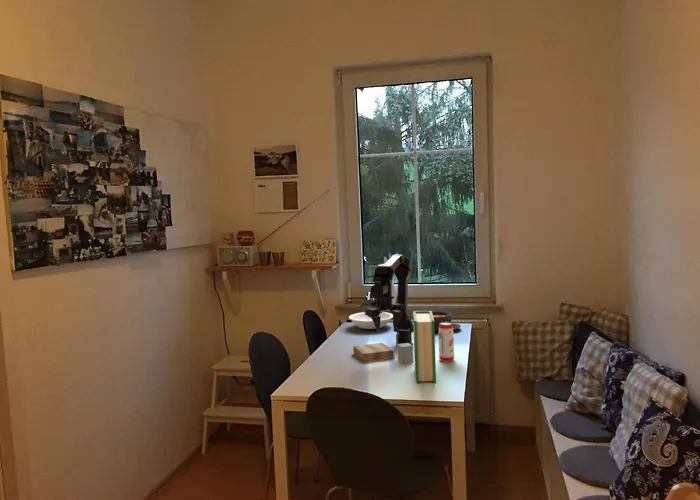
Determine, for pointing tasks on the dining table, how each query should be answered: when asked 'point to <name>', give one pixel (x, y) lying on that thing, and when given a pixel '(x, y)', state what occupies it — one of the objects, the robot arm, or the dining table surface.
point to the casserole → (443, 319)
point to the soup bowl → (369, 320)
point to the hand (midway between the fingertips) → (386, 329)
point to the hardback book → (424, 346)
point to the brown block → (373, 352)
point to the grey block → (405, 352)
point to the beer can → (446, 342)
